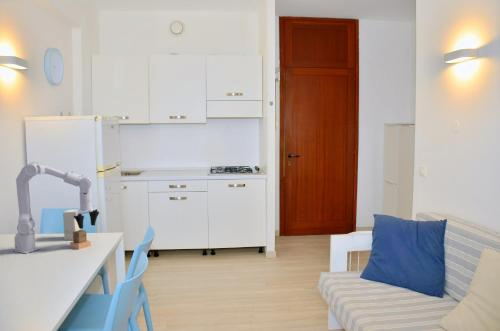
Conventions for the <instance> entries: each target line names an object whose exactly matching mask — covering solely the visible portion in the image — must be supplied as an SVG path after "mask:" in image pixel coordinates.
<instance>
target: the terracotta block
mask: <svg viewBox="0 0 500 331" xmlns="http://www.w3.org/2000/svg"><path fill="white" fill-rule="evenodd" d="M69 246H70V248H71V247H72V248H71V249H76V250H82V249H85V248H86V249H87V248H89V247H92V245H91V240H87V241H86V242H83V243H74V242H73V241H71V242H69Z"/></svg>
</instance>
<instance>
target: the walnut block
mask: <svg viewBox="0 0 500 331" xmlns="http://www.w3.org/2000/svg"><path fill="white" fill-rule="evenodd" d="M86 241H87V230H83V229H81V230H78V231H74V232H73V240H72V242H74V243H83V242H86Z"/></svg>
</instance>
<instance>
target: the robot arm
mask: <svg viewBox="0 0 500 331" xmlns="http://www.w3.org/2000/svg"><path fill="white" fill-rule="evenodd" d="M38 174H39V176H40V175H45V174H46V175H50V176H53V177H56V178H60V179H62V180H63V182H64V183H67V184H69V185H72V186H75V187H79V206H80V207H79V208H80V210H78V211H75V212H73V216H74V218H75V219H76V221H77V223H78V226H79V229H81V230H83V229H84V219H85V215H84V214H88V215H89V219H90V226H96V222H97V219H98V216H99V214H100V207H99V206H93V196H92V195H93V194H92V187H91V186H92V180H91V178H89V177H87V176H84V175H82V174H81V175H80V174H78V173H75V172H74V171H66V172H65V171H64V172H63V171H61V170H59V169H57V168H53V167H51V166H49V165H46V164H43V163H38V162H36V161H33V162H30V163H28V164H26V165H25V166H23V167H22V168H21V170H20V172H19V173H18V175H17V176H16V179H15V183H16V186H15V187H16V195H17V203H18V204H17V205H18V220H17V221H18V224H17V225H16V226H17V227H16V230H17V233H16V234H15V235H14V239H13V240H14V249H13V251H14V252H16V253H21V254H28V253H30V252H31V253H32V252H35V251H38V250H40V248H39V247H36V235H35V234H36V232H35V230H34V227H35V225H36V223H35V220H34V219H33V214H32V213H31V205H30V204H31V203H30V202H31V201H30V192H29V181H30V180H31V179H32V178H34V177H35V176H37V175H38Z"/></svg>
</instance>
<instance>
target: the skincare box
mask: <svg viewBox="0 0 500 331" xmlns="http://www.w3.org/2000/svg"><path fill="white" fill-rule="evenodd" d="M78 210H80V209H68V210H67V209H66V210H65V211H63V212H62V217H63V234H64V239H63V240H64V241H73V232H74V231H78V230H82V229H79V226H78V223H77V221H76V219H75V218H74V216H73V212H75V211H78Z"/></svg>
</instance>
